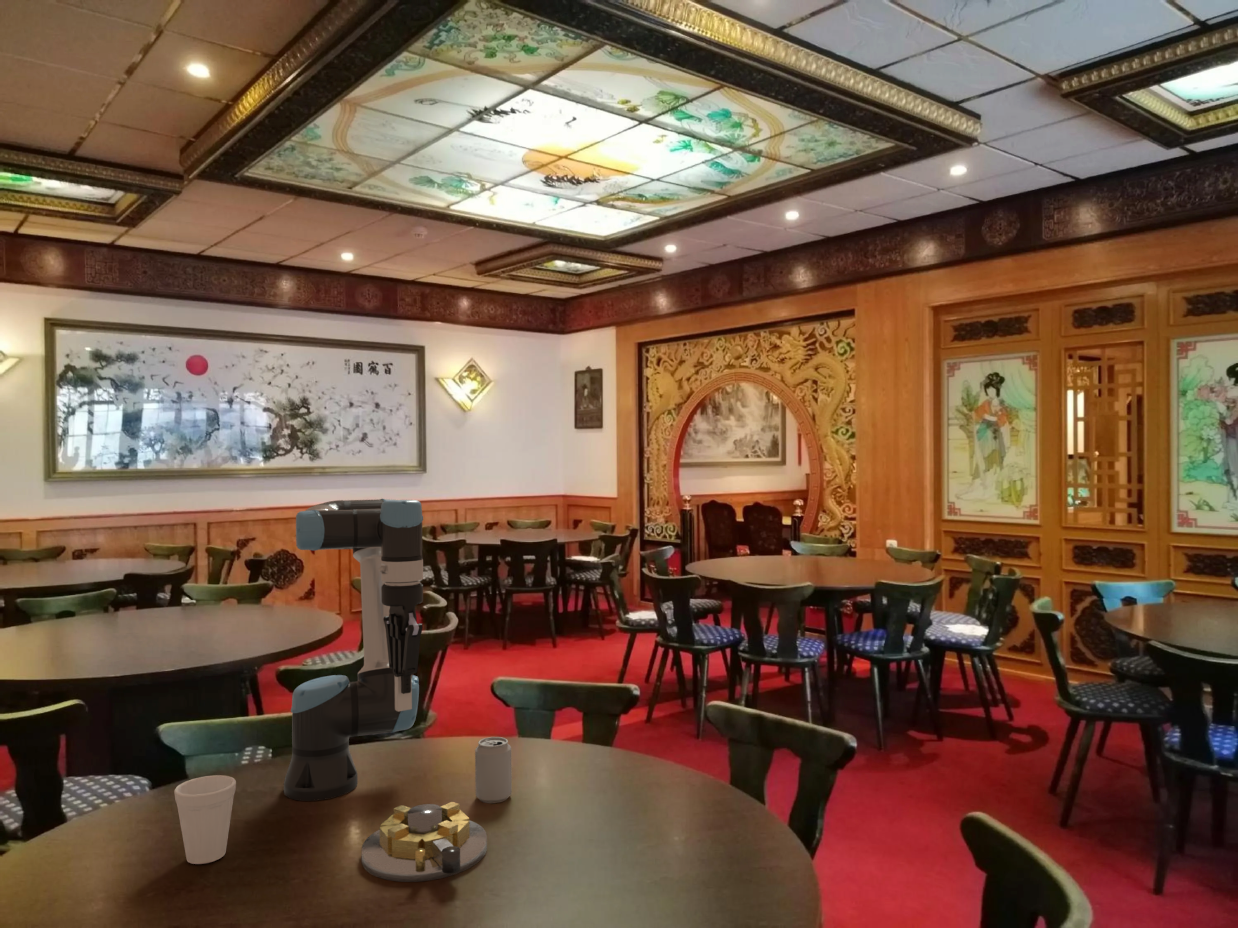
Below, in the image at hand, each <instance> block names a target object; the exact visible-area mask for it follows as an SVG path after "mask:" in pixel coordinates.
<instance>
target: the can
mask: <svg viewBox="0 0 1238 928" xmlns="http://www.w3.org/2000/svg"><path fill="white" fill-rule="evenodd" d="M477 744H478V745H477V747H476V748H475V749H474V751H475V753H474V756H475V757H474V760H475V763H474V767H475V769H474V770H475V777H474V778H475V797H476V798H477V799H478V800H479V801H480V802H482V803H485V804H496V803H497V804H499V803H502V802H504V801H506V800H507V799H508V798H509V797H510V796H511V795H512V793H513V791H512V788H513V787H512V781H513V777H512V746H511V745H510V744H509V740H508V739H507V738H505V737H501V736H490V737H484V738H481V739H480V740H479V741H478V742H477Z"/></svg>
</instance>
